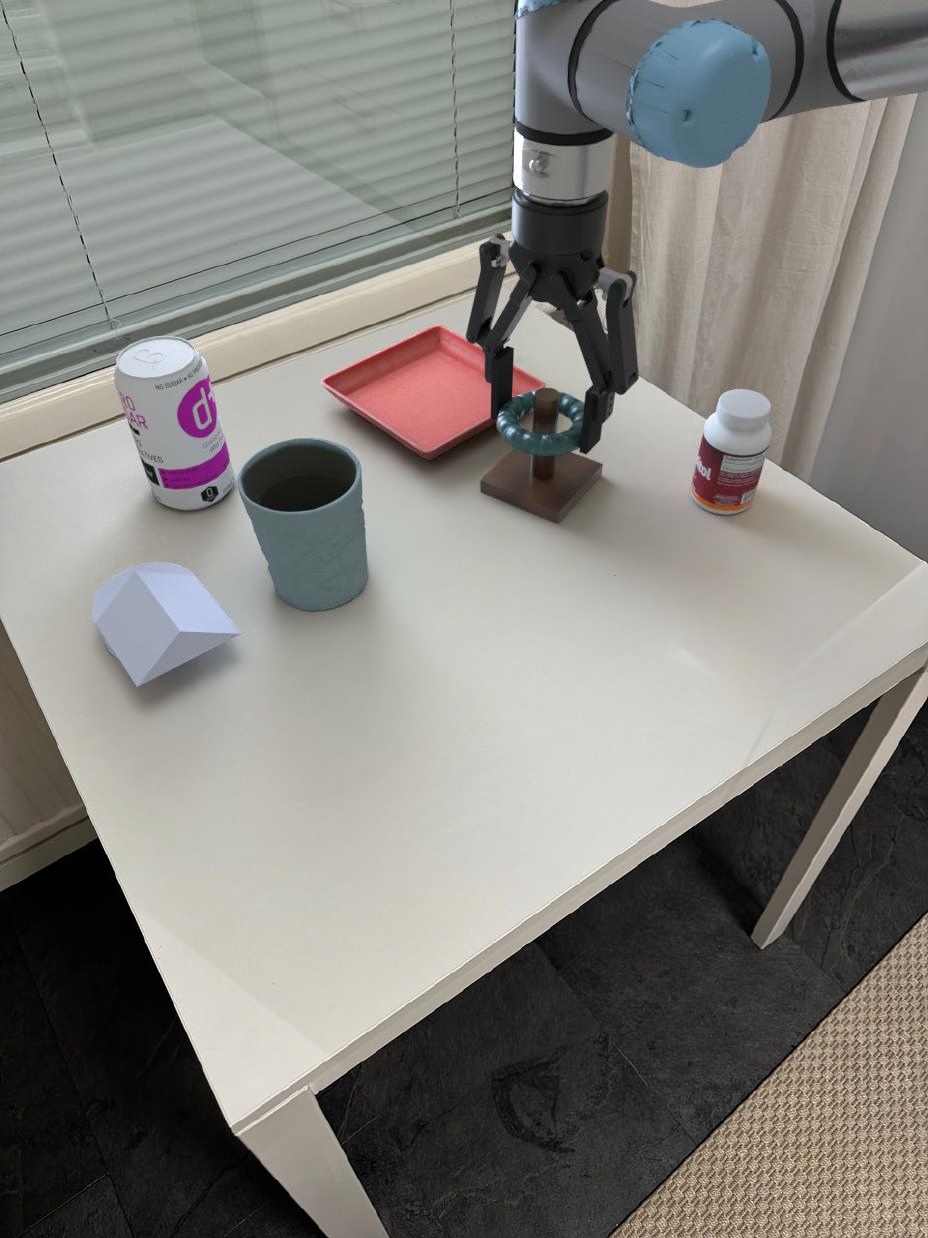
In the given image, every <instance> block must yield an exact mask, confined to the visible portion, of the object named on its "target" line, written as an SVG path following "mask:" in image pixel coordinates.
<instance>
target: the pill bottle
mask: <svg viewBox="0 0 928 1238" xmlns="http://www.w3.org/2000/svg"><path fill="white" fill-rule="evenodd" d="M771 412H772V403H771V401H770V400H769V399H768V397H767V396H765V395H764V394H762V393H760V392H758V391H755V390H750V389H746V388H736V389H731V390H730V389H729V390H727V391H725V392H723V393H722V394H721V395H720V396H719V399H718V402H717V405H716V407H715V411H714V412H713V413H712V414H710V416H709V417H707V419H706V421H705V422H704V427H703V429H702V435H701V438H700V444H699V448H698V451H697V452H698V453H697V458H696V462H695V466H694V471H693V476H692V480H691V485H690V494H691V498H692V499H693V501H694V502H695V503H696V504H697V505H698V506H699V507H700V508H702V509H703V510H705V511H708V512H709V513H712V514H716V515H735V514H739V513H742V512H744V511H745V510H747V509H749V507H750V506H751V505H752V503H753V501H754V499H755V496H756V491H757V489H758V485H759V483H760V482H759V481H760V478H761V476H762V471H763V468H764V464H765V461H766V458H767V454H768V450H769V448H770V444H771V440H772V436H773V434H772V433H773V431H772V426H771V425H770V423H769V419H770V416H771Z"/></svg>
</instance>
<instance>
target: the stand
mask: <svg viewBox="0 0 928 1238" xmlns="http://www.w3.org/2000/svg"><path fill="white" fill-rule="evenodd" d="M559 392H560V391H559V390H557V389H555V388H553V387H545V388H540V389H538V390H537V391H536V392H535V394H534V410H533V412H532V429H531V432H534V433H539V434H557V433H558V428H559V417H560V414H559V404H560V393H559ZM603 466H604V464H603V463H602V462H599V461H596V460H593V459H591V458H588V457H586V456H584V455H580V454H578V453H575V452H574V451H571V452H569V453H566V454H563V455H557V456H537V455H532V454H528V453H523V452H520V451H518V450H517V449H515V448H514V447H512V449H511V450H510V451H509V452H508V453H507V454H506V455H505V456H503V458H502V459H501V460H499V461H498V463H497V464H495V465H494V466H493V467H492V468H491V469H490V470H489V471H488V472H487V473H486V474H485V475H484V476H483V477H482V478H481V479H480V481H479V483H480V484H479V487H480V489H479V492H481V493H483V494H485V495H488V496H490V497H492V498H495V499H498V500H500V501H503V502H505V503H507V504H509V505H512V506H514V507H516V508H518V509H522V510H524V511H526V512H528V513H531V514H533V515H536V516H538V517H540V518H543V519H545V520H547V521H550V522H552V523H555V524H559V523H560V522H561V521H562V520H563V518H565V516H566V515H568V513H569V512H571V510H572V509H573V508H574V506H575V505H576V504H577V503H578V502H579V501H580V500H581V499H582V498H583V496H585V495H586V493H587V492H588V491H589V490H590V489H591V488H592V487H593V486H594V484H595V483H597V482H598V480H599V479H600V478H601V477H602V476H603V475H602V474H603V468H604V467H603Z"/></svg>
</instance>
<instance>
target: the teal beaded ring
mask: <svg viewBox="0 0 928 1238" xmlns="http://www.w3.org/2000/svg"><path fill="white" fill-rule="evenodd" d="M535 392H536V391H529V392H526V393H523V394H520V395H517V396H514V397H512V398H511V399H510V400H509V401H508V402H506V403H505V404H504V405H503V406H502V407H501V408H500V410H499V413H498V418H497V422H496V423H495V426H496V430H497V431H498V433H499V435H500V437H501V438H502V440H503V442H505V443H506V444H507V445H509V446H511V447H512V448H515V449H517V450H518V451H520V452H523V453H528V454H532V455H537V456H557V455H563V454H566V453H569V452H575V451H577V450H578V449H579V450H580V441H581V431H582V422H583V412H584V402H585V401H583V400H580V399H579V398H576V397H575V396H573V395H571V394H569V393H567V392H562V391H558V392H559V393H560V404H559V415H562V416H563V417H566V418H567V419H569V420H570V422H571V426H570V427H569V428H567V429H566V430H563V431H560V432H557V434H539V433H534V432H532V431H530V430H527V429H526V428H525V427H523V426H521V425H520V423H519V420H520V419H521V418H522V417H523V416H526V415H529V414H531V413H533V410H534V394H535Z"/></svg>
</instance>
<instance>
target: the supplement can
mask: <svg viewBox="0 0 928 1238" xmlns="http://www.w3.org/2000/svg"><path fill="white" fill-rule="evenodd" d="M115 360H116V361H115V363H116V365H115V370H114V373H113V376H114V377H113V379H114V381H113V383H114V385H115V388H116V391H117V395H118V397H119V399H120V400H119V401H120V403H121V406H122V409H123V411H124V415H125V417H126V420H127V423H128V426H129V429H130V432H131V435H132V438H133V441H134V443H135V446H136V449H137V452H138V455H139V458H140V461H141V463H142V467H143V470H144V472H145V473H144V474H145V475H146V478H147V481H148V485H149V486H150V487H149V488H150V490H151V492H152V494H153V496H154V497H155V499H156V500H157V502H159V503H161V504H163V505H165V506H166V507H170V508H173V509H175V510H182V511H195V510H200V509H201V510H202V509H204V508H207V507H210V506H212V505H214V504H216V503H217V502H219V501H221V500H222V499H223V498H224V497H225V496H226V495H227V494H228V492H229V491H230V490H231V489H232V488H233V485H234V482H235V480H236V479H235V472H234V468H233V463H232V459H231V455H230V451H229V448H228V444H227V439H226V436H225V433H224V428H223V424H222V420H221V416H220V412H219V409H218V404H217V400H216V396H215V392H214V389H213V385H212V381H211V376H210V373H209V369H208V365H207V361H206V359H205V358H204V357H203V356H202V355H201V354H200V353H199V352H198V351H197V350H196V347H195V346H194V344H192V342H191V341H190V340H187V339H186V338H183V337H180V336H171V335H160V336H152V337H146V338H143V339H140V340H137V341H135V342H133V343H130V344H129V345H127V346H126V347H124V348H123V349H122V350H120V352H119V353H118V355H117V356H116V359H115Z"/></svg>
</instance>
